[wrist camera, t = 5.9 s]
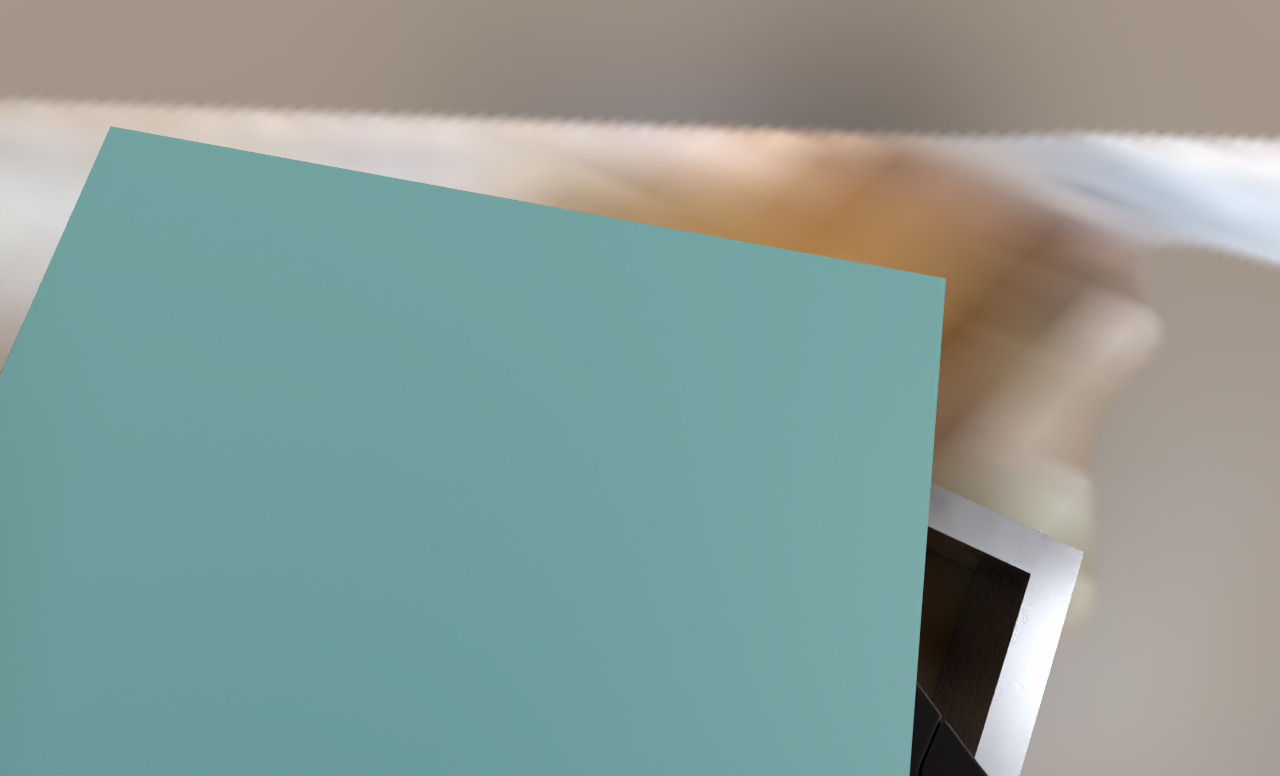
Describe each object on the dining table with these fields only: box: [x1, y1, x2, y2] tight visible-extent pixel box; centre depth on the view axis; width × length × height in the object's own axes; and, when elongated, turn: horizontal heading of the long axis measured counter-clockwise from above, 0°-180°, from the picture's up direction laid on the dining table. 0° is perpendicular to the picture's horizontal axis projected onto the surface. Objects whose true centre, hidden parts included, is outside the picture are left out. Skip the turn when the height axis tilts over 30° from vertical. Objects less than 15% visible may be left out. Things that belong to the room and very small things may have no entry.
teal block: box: [0, 127, 946, 776], centre depth 9 cm, size 5×5×12 cm
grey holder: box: [926, 483, 1084, 776], centre depth 19 cm, size 9×9×3 cm
